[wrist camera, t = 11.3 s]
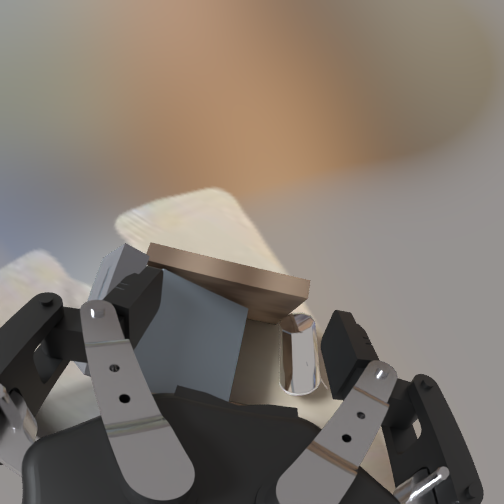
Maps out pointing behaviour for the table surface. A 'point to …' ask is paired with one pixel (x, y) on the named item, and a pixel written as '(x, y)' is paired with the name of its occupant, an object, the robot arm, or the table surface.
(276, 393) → the table surface
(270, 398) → the table surface
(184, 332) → the trapdoor
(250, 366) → the table surface
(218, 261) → the stand
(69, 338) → the robot arm
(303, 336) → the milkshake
